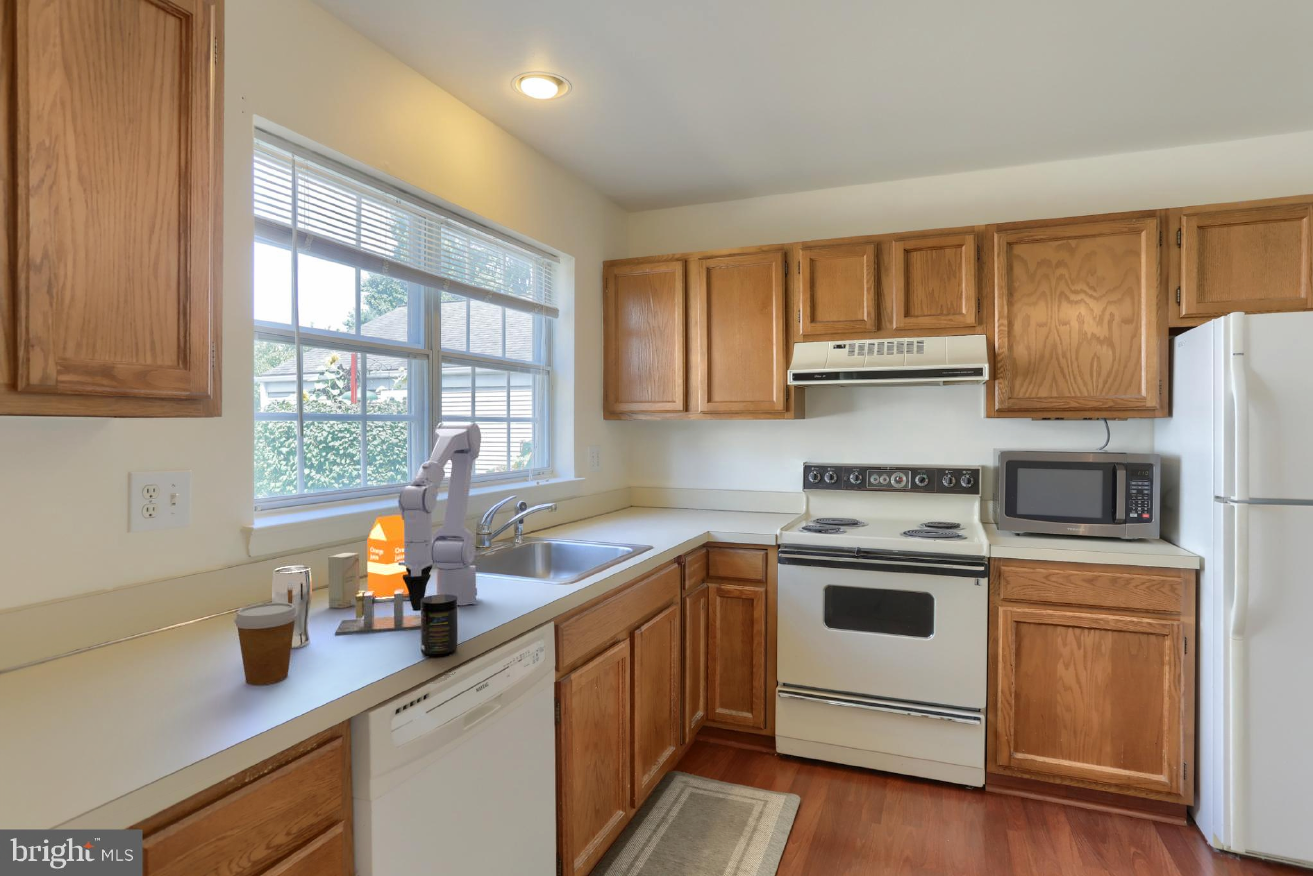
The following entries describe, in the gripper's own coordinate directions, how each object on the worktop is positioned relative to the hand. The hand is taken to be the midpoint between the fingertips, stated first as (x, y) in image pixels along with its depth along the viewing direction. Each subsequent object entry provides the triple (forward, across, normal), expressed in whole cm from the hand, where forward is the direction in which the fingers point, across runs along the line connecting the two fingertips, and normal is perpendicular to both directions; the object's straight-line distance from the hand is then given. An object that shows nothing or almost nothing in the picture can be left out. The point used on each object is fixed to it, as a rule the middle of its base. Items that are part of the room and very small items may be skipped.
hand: (418, 602), depth 152 cm
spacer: (-1, 0, -12) cm, 12 cm away
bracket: (+4, 0, -7) cm, 8 cm away
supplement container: (+5, +22, +5) cm, 23 cm away
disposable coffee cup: (+5, +28, -23) cm, 37 cm away
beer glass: (+5, +9, -23) cm, 25 cm away
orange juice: (+5, -30, -8) cm, 31 cm away
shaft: (+1, 0, -6) cm, 6 cm away
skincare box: (+5, -21, -18) cm, 28 cm away
